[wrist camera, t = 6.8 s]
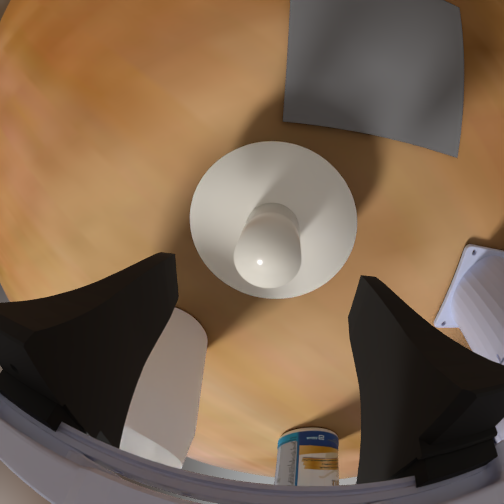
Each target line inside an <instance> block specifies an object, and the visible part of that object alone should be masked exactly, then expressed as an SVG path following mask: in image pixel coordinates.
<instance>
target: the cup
mask: <svg viewBox="0 0 504 504" xmlns="http://www.w3.org/2000/svg"><path fill="white" fill-rule="evenodd" d="M207 344H208V340H207V335H206V332H205V330H204V329H203V327H202V326H201V324H200V323H199V322H198V321H197V320H196V319H195V318H194V317H192V316H191V315H189V314H188V313H186V312H185V311H183V310H180V309H178V308H174V310H173V313H172V315H171V317H170V319H169V321H168V323H167V325H166V327H165V328H164V330H163V332H162V334H161V335H160V337H159V339H158V341H157V343H156V344H155V346H154V348H153V350H152V351H151V353H150V355H149V357H148V359H147V361H146V363H145V365H144V367H143V370H142V372H141V375H140V378H139V380H138V383H137V386H136V388H135V391H134V394H133V397H132V400H131V403H130V407H129V410H128V414H127V417H126V421H125V424H124V429H123V433H122V438H121V442H120V447H119V449H121V450H123V451H126V452H129V453H131V454H134V455H137V456H140V457H142V458H145V459H148V460H151V461H154V462H158V463H161V464H164V465H168V466H171V467H175V468H178V469H181V468H182V466H183V463H184V460H185V458H186V455H187V453H188V450H189V447H190V445H191V442H192V440H193V438H194V435H195V431H196V424H197V416H198V409H199V401H200V393H201V386H202V379H203V371H204V364H205V357H206V351H207Z"/></svg>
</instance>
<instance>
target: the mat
mask: <svg viewBox="0 0 504 504" xmlns="http://www.w3.org/2000/svg"><path fill="white" fill-rule="evenodd" d="M463 99H464V49H463V35H462V24H461V16H460V9H459V7H457V6H455V5H453V4H451V3H449V2H446V1H444V0H290V18H289V36H288V53H287V69H286V84H285V98H284V111H283V121H284V122H294V123H303V124H311V125H318V126H325V127H332V128H338V129H344V130H350V131H356V132H361V133H366V134H371V135H376V136H380V137H385V138H389V139H393V140H397V141H402V142H406V143H409V144H413V145H417V146H420V147H424V148H428V149H431V150H434V151H438V152H441V153H444V154H447V155H450V156H453V157H456V158H457V156H458V150H459V143H460V135H461V125H462V114H463Z"/></svg>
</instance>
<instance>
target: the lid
mask: <svg viewBox="0 0 504 504" xmlns="http://www.w3.org/2000/svg"><path fill="white" fill-rule="evenodd" d="M190 228H191V234H192V238H193V241H194V244H195V247H196V249H197V251H198V253H199V255H200V257H201V259H202V260H203V262H204V263H205V264H206V266H207V267H208V268H209V269H210V271H211V272H212V273H213V274H214V275H215V276H217V277H218V278H219V279H220V280H221V281H223V282H224V283H225V284H227V285H229V286H230V287H232V288H234V289H236V290H238V291H240V292H242V293H245V294H248V295H251V296H255V297H260V298H268V299H283V298H291V297H296V296H300V295H303V294H306V293H308V292H311V291H313V290H315V289H317V288H319V287H320V286H322V285H323V284H325V283H326V282H328V281H329V280H330V279H331V278H332V277H334V276H335V275H336V273H337V272H338V271H339V270H340V269H341V268H342V266H343V265H344V263H345V262H346V261H347V259H348V257H349V255H350V253H351V251H352V248H353V245H354V242H355V237H356V233H357V212H356V207H355V203H354V199H353V197H352V194H351V191H350V189H349V187H348V186H347V184H346V182H345V180H344V179H343V178H342V176H341V175H340V174H339V172H338V171H337V170H336V169H335V168H334V167H333V166H332V165H331V164H330V163H329V162H328V161H327V160H325V159H324V158H323V157H321V156H320V155H319V154H317V153H315V152H313V151H311V150H310V149H308V148H305V147H302V146H300V145H297V144H293V143H288V142H281V141H262V142H257V143H252V144H248V145H245V146H242V147H239V148H237V149H235V150H234V151H232V152H230V153H228V154H226V155H225V156H223V157H222V158H221V159H219V160H218V161H217V162H216V163H214V164H213V165H212V166H211V167H210V168H209V169H208V171H207V172H206V173H205V175H204V176H203V177H202V179H201V181H200V182H199V184H198V186H197V188H196V190H195V193H194V195H193V199H192V203H191V209H190Z"/></svg>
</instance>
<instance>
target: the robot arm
mask: <svg viewBox="0 0 504 504" xmlns="http://www.w3.org/2000/svg"><path fill="white" fill-rule="evenodd" d="M473 250H474V252H473ZM472 252H473V253H472ZM178 297H179V295H178V285H177V274H176V262H175V254H171V253H163V252H160V253H157V254H155V255H152V256H150V257H148V258H146V259H144V260H142V261H140V262H138V263H136V264H134V265H132V266H130V267H128V268H126V269H124V270H122V271H119V272H117V273H115V274H113V275H111V276H108V277H106V278H104V279H102V280H100V281H97V282H95V283H92V284H90V285H87V286H84V287H81V288H78V289H75V290H72V291H68V292H65V293H61V294H58V295H54V296H50V297H45V298H40V299H34V300H27V301H18V302H7V303H0V366H1V367H2V369H3V370H2V371H1V373H0V460H1V461H2V462H3V463H4V464H5V465H6V466H8V468H9V469H10V470H11V471H13V472H14V473H15V474H16V475H17V476H18V477H19V478H20V479H21V480H23V481H24V482H25V483H26V484H27V485H29V486H30V487H31V488H32V489H33V490H35V491H36V492H37V493H38V494H40V495H41V496H42V497H44V498H45V499H46V500H48V501H49V502H50V503H52V504H201V503H196V502H192V501H188V500H183V499H180V498H176V497H173V496H169V495H166V494H162V493H159V492H156V491H153V490H150V489H147V488H144V487H142V486H138V485H136V484H133V483H131V482H128V481H126V480H123V479H121V478H120V477H119V475H117V474H120V475H122V476H125V477H127V478H130V479H132V480H135V481H138V482H140V483H143V484H146V485H149V486H152V487H155V488H158V489H161V490H164V491H168V492H172V493H175V494H179V495H182V496H186V497H190V498H194V499H199V500H203V501H209V502H213V503H218V504H504V251H503V250H498V249H493V248H488V247H483V246H478V245H473V244H468V245H466V247H465V248H464V251H463V254H462V257H461V259H460V262H459V265H458V267H457V270H456V273H455V275H454V278H453V280H452V283H451V285H450V287H449V290H448V292H447V294H446V297H445V299H444V301H443V303H442V306H441V308H440V310H439V312H438V314H437V316H436V318H435V320H434V325H435V327H437V328H450V327H459V328H460V330H461V332H462V333H463V335H464V337H465V339H466V340H467V342H468V344H469V346H470V348H471V349H472V351H471V350H469V349H467V348H465V347H464V346H462V345H460V344H459V343H457V342H455V341H454V340H452V339H451V338H449V337H447V336H446V335H445V334H443V333H442V332H440V331H439V330H438V329H436V328H435V327H433V326H432V325H431V324H430V323H428V322H427V321H426V320H425V319H423V318H422V317H421V316H420V315H419V314H417V313H416V312H415V311H414V310H413V309H412V308H410V307H409V306H408V305H407V304H406V303H405V302H404V301H403V300H402V299H400V298H399V297H398V296H397V295H396V294H395V293H394V292H393V291H392V290H391V289H390V288H388V287H387V286H386V285H385V284H384V283H383V282H382V281H380V280H379V279H378V278H376V277H372V276H362V275H361V277H360V280H359V284H358V287H357V290H356V294H355V297H354V300H353V304H352V307H351V310H350V313H349V316H348V323H349V336H350V342H351V347H352V352H353V357H354V362H355V367H356V372H357V377H358V382H359V389H360V400H361V445H360V459H359V468H358V476H357V482H356V484H355V485H339V486H286V485H271V484H260V483H251V482H243V481H236V480H230V479H224V478H218V477H213V476H208V475H203V474H199V473H194V472H190V471H186V470H182V469H178V468H175V467H171V466H168V465H164V464H161V463H158V462H154V461H151V460H148V459H145V458H142V457H140V456H137V455H134V454H131V453H129V452H126V451H123V450H121V449H119V447H120V442H121V438H122V433H123V429H124V424H125V421H126V417H127V414H128V410H129V407H130V403H131V400H132V397H133V394H134V391H135V388H136V386H137V383H138V380H139V378H140V375H141V372H142V370H143V367H144V365H145V363H146V361H147V359H148V357H149V355H150V353H151V351H152V350H153V348H154V346H155V344H156V343H157V341H158V339H159V337H160V335H161V334H162V332H163V330H164V328H165V327H166V325H167V323H168V321H169V319H170V317H171V315H172V313H173V310H174V308H175V305H176V303H177V300H178ZM442 322H443V323H442ZM109 470H110V471H109ZM111 471H113V472H115V473H117V474H115V473H113V472H111Z"/></svg>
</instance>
